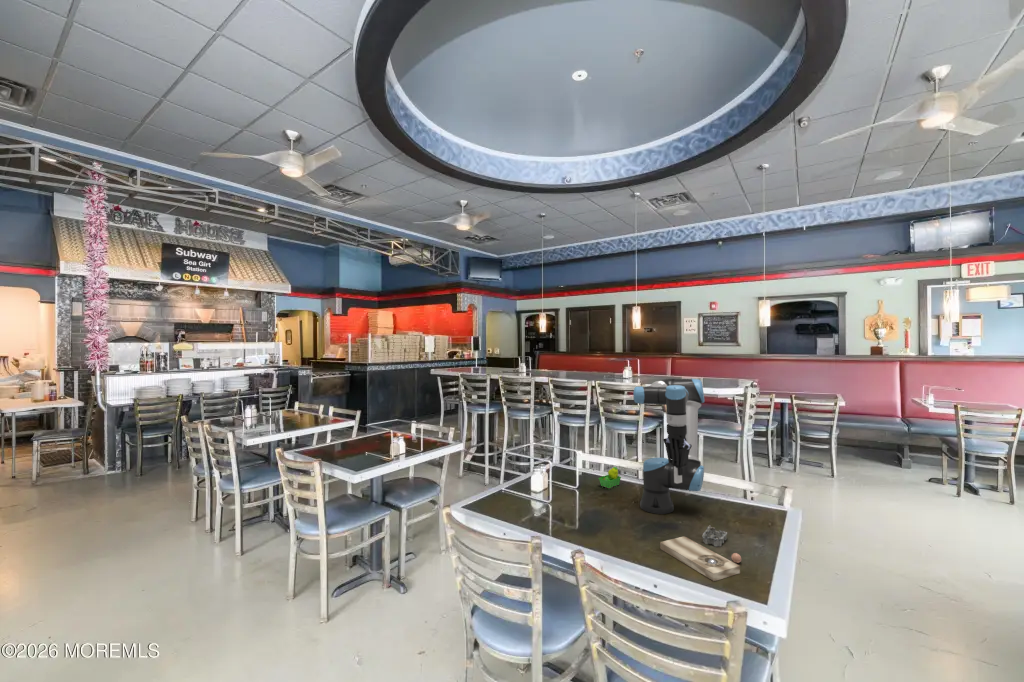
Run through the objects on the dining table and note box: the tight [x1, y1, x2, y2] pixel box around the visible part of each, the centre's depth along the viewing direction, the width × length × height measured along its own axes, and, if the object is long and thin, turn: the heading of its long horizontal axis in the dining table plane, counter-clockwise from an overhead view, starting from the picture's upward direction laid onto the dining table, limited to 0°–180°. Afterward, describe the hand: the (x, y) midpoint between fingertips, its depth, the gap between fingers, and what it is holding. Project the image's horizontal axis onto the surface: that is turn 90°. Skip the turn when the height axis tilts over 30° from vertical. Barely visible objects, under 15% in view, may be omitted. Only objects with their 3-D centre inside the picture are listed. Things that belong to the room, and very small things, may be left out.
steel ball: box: [707, 559, 717, 564], centre depth 149 cm, size 3×3×3 cm
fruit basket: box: [598, 466, 622, 489], centre depth 237 cm, size 11×9×11 cm
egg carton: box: [701, 524, 728, 547], centre depth 170 cm, size 11×8×4 cm
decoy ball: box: [730, 552, 742, 564], centre depth 153 cm, size 3×3×3 cm
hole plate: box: [659, 536, 741, 582], centre depth 155 cm, size 12×25×2 cm, turn 23°
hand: (678, 482), depth 173 cm, fingers closed
